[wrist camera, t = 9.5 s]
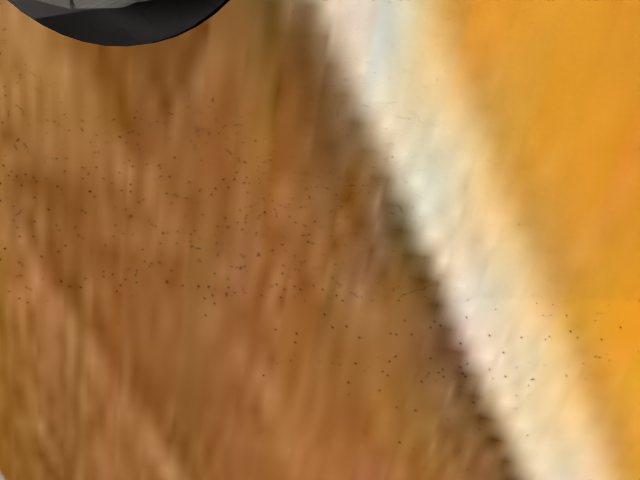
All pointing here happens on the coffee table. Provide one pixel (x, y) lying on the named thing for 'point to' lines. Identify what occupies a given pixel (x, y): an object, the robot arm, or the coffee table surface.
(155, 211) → the coffee table surface
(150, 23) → the collar stand
